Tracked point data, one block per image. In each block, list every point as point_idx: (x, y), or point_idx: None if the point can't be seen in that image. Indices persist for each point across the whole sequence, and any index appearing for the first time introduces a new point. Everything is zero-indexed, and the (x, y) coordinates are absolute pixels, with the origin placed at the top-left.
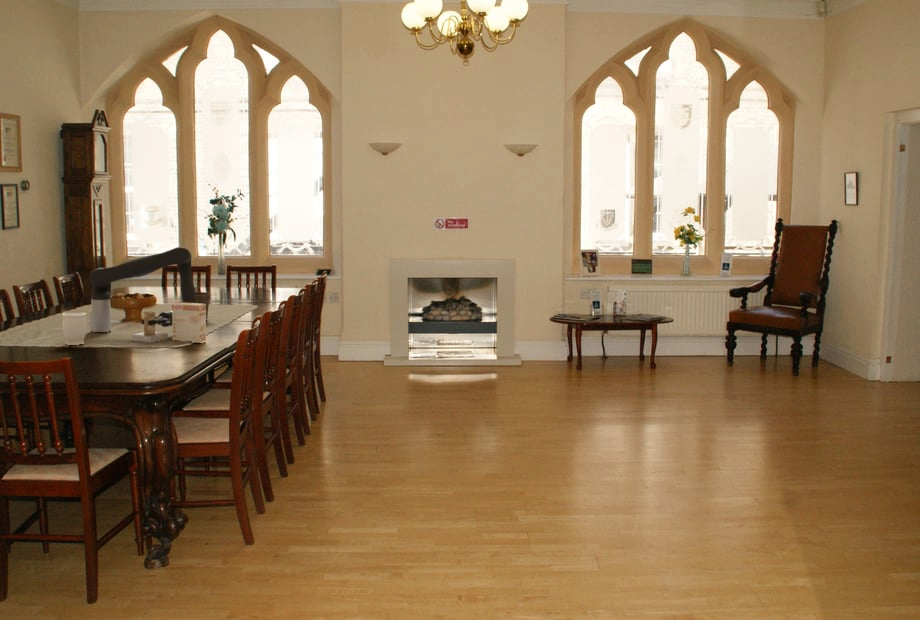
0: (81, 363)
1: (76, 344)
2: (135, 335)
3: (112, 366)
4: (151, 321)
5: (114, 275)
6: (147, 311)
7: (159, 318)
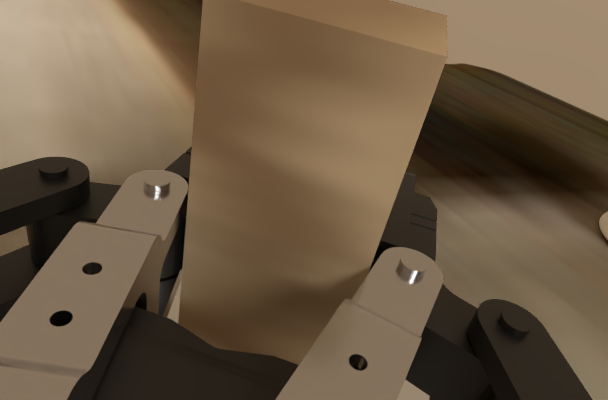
0: None
1: (604, 214)
2: None
3: (181, 9)
4: None
5: None
6: (434, 33)
7: (69, 247)
